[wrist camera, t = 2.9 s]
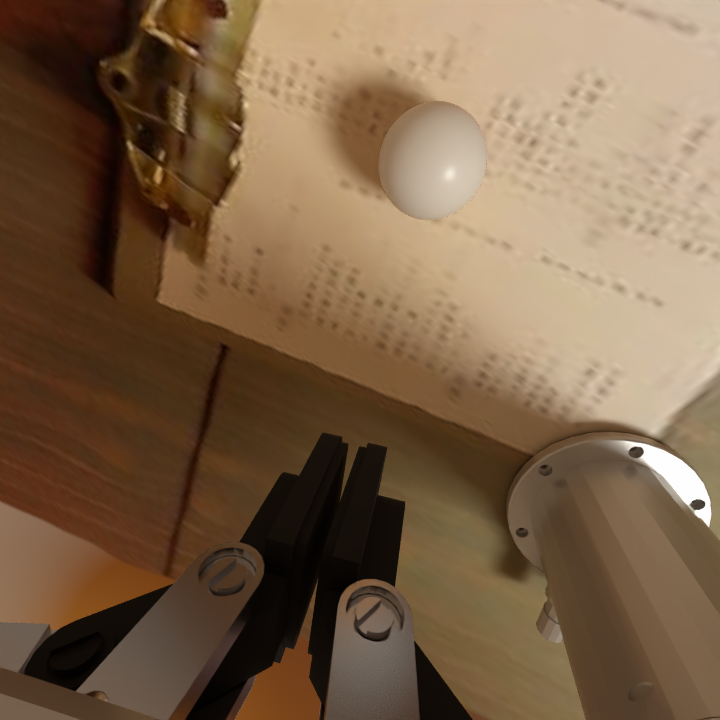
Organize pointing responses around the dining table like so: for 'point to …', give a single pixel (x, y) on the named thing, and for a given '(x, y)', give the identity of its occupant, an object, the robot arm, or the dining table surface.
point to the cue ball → (432, 160)
